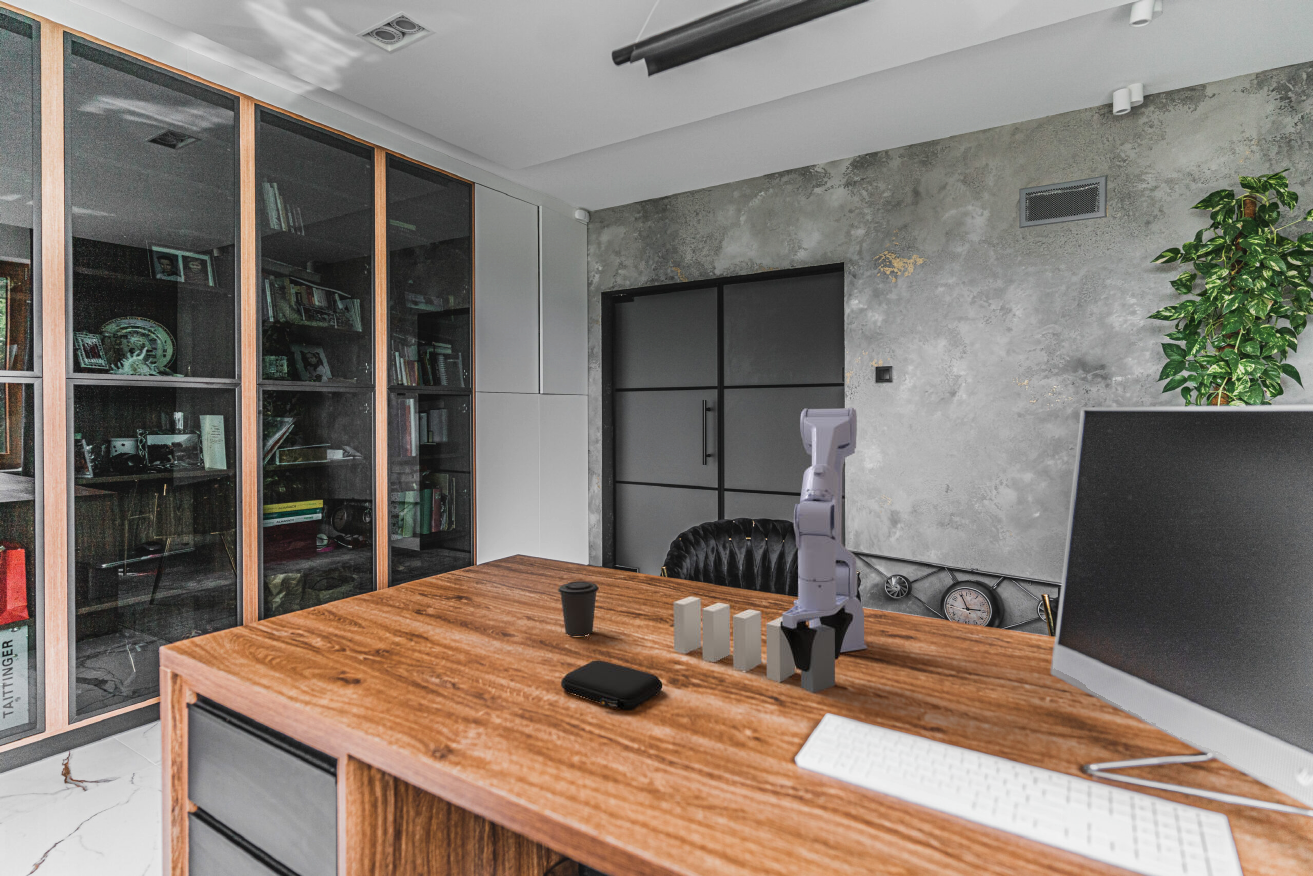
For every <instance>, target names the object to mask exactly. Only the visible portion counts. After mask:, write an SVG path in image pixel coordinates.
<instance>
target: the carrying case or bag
mask: <svg viewBox="0 0 1313 876" xmlns="http://www.w3.org/2000/svg"><path fill="white" fill-rule="evenodd" d="M560 685H561V688H562V689H563V690H564V692H566V693H568V692H570V693H573V694H576V695H579V696H578V697H580V696H582V697H581V698H583V697H585V698H584V699H586V698H588V699H587V700H589V699H590V700H589V701H592V700H594V701H593V702H595V701H597V702H596V703H598V702H600V703H599V705H600V706H602V707H610V708H611V707H612V708H614V707H615V708H614V709H618V708H619V709H618V710H621V709H622V711H633V710H635V709H636V708H638V707H639V705H640V706H641V705H642V703H643V704H644V703H646V702H647V701H648V700H650V698H651V699H652V698H654V697H655V696H657V695H658V694H659V692H661V690H662V689H663V682H662V681H661V679H659V677H658V676H656V675H655V674H653V673H650V672H646V671H642V670H639V669H635V668H631V667H627V666H624V665H619V664H616V663H613V662H608V661H604V660H599V659H598V660H592V661H590V662H588V663H586V664H584V665H582V666H579V668H576V669H573V670H572V671H569V672H568V673H566V674H565V675H564V677H563V678H562V679H561V681H560ZM570 693H569V694H570ZM573 694H572V695H573ZM656 694H657V695H656ZM576 695H575V696H576ZM653 696H654V697H653ZM645 701H646V702H645ZM634 708H635V709H634Z"/></svg>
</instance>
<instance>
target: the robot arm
mask: <svg viewBox="0 0 1313 876" xmlns="http://www.w3.org/2000/svg"><path fill="white" fill-rule="evenodd" d="M800 413H801V414H800V420H799V421H800V424H799V427H800V436H801V437H800V438H801V439H802V444H803V448H804V449H805V453H806V454H807V455H809V456H811V466H809V467H808V468H806V469H805V471H804V472H803V477H802V478H803V479H802V484H801V485H802V486H801V493H800V500H799V504H798V503H795V506H794V510H793V528H794V534H795V545H796V546H795V548H797V550H798V551H797V565H798V566H797V567H798V569H797V573H798V575H797V577H798V579H797V581H798V583H797V587H798V590H797V591H798V597H797V599H795V600H793V607H791V608H790V609H788V610H787V611H784V612H782V614H781V615H782V616H781V617H782V621H781V622H780V628H781V630H782V631H783V633H784V635H785V637H786V639H787V641H788V643H789V645H790V648H791V651H792V655H793V659H794V663H795V670H799V671H801V670H802V671H804V672H808V671H809V669H810V664H811V650H812V645H813V641H814V638H815V635H816V633H817V630H815V629H812V628H813V627H816V626H820V625H825V626H828V627H831V628H834V629H835V660H839V658H840V655H841V653H846V652H852V651H853V652H854V651H857V650H858V651H859V650H865V649H867V648H868V646H867V644H865V612H864V609H863V605H862V603H861V601H860V600H859V599H858V597H857V594H858V568H857V558H856V556H855V554H854V553H853V552H851V551H850V550H849V549H848V548H847V547H845V546H844V545H843V544H842V513H843V512H842V506H843V504H842V503H843V499H842V498H843V468H844V465H845V461H846V458H847V457H849V456H852V455H854V454H855V452H856V451H855V450H856V449H857V435H858V432H857V431H858V420H857V418H858V417H857V415H858V414H857V410H856V409H854V407H849V408H844V407H843V408H809V409H808V407H807V408H804V409H803V410H802V411H801V412H800ZM837 561H840V562H837ZM841 561H843V562H841ZM844 562H845V563H844ZM807 622H808V623H809V625H808V624H807Z"/></svg>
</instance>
